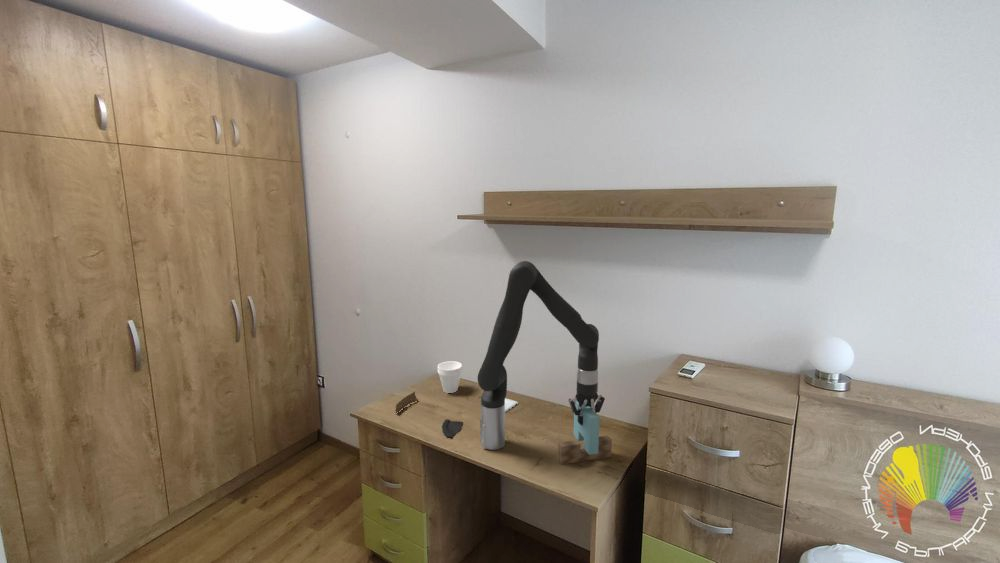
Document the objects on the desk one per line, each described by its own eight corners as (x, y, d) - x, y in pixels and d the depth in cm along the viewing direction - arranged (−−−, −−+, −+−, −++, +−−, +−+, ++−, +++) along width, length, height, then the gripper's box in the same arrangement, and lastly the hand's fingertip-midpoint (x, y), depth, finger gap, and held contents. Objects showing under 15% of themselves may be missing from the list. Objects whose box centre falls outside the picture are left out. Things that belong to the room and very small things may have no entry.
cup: (454, 384, 233) (453, 359, 230) (467, 391, 223) (466, 366, 221) (433, 390, 225) (432, 364, 223) (446, 398, 216) (445, 372, 213)
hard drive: (503, 412, 200) (517, 401, 210) (488, 407, 204) (503, 397, 214) (503, 415, 200) (517, 404, 210) (488, 410, 205) (503, 400, 215)
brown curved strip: (398, 415, 199) (397, 405, 198) (394, 414, 200) (394, 404, 199) (418, 401, 213) (417, 391, 212) (414, 400, 214) (414, 391, 213)
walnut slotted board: (561, 464, 162) (561, 446, 161) (558, 459, 165) (558, 442, 164) (611, 456, 167) (611, 439, 166) (607, 452, 170) (608, 435, 168)
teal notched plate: (598, 453, 159) (599, 417, 156) (589, 454, 158) (590, 418, 155) (581, 433, 172) (582, 399, 169) (573, 434, 171) (574, 400, 169)
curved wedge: (436, 439, 181) (436, 435, 180) (445, 422, 194) (445, 419, 194) (456, 440, 180) (456, 436, 179) (463, 423, 193) (463, 420, 192)
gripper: (600, 373, 165) (598, 416, 169) (565, 377, 162) (564, 421, 165) (610, 381, 158) (608, 426, 161) (573, 385, 155) (572, 431, 158)
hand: (585, 423), depth 163 cm, fingers closed on teal notched plate, 3 cm apart
